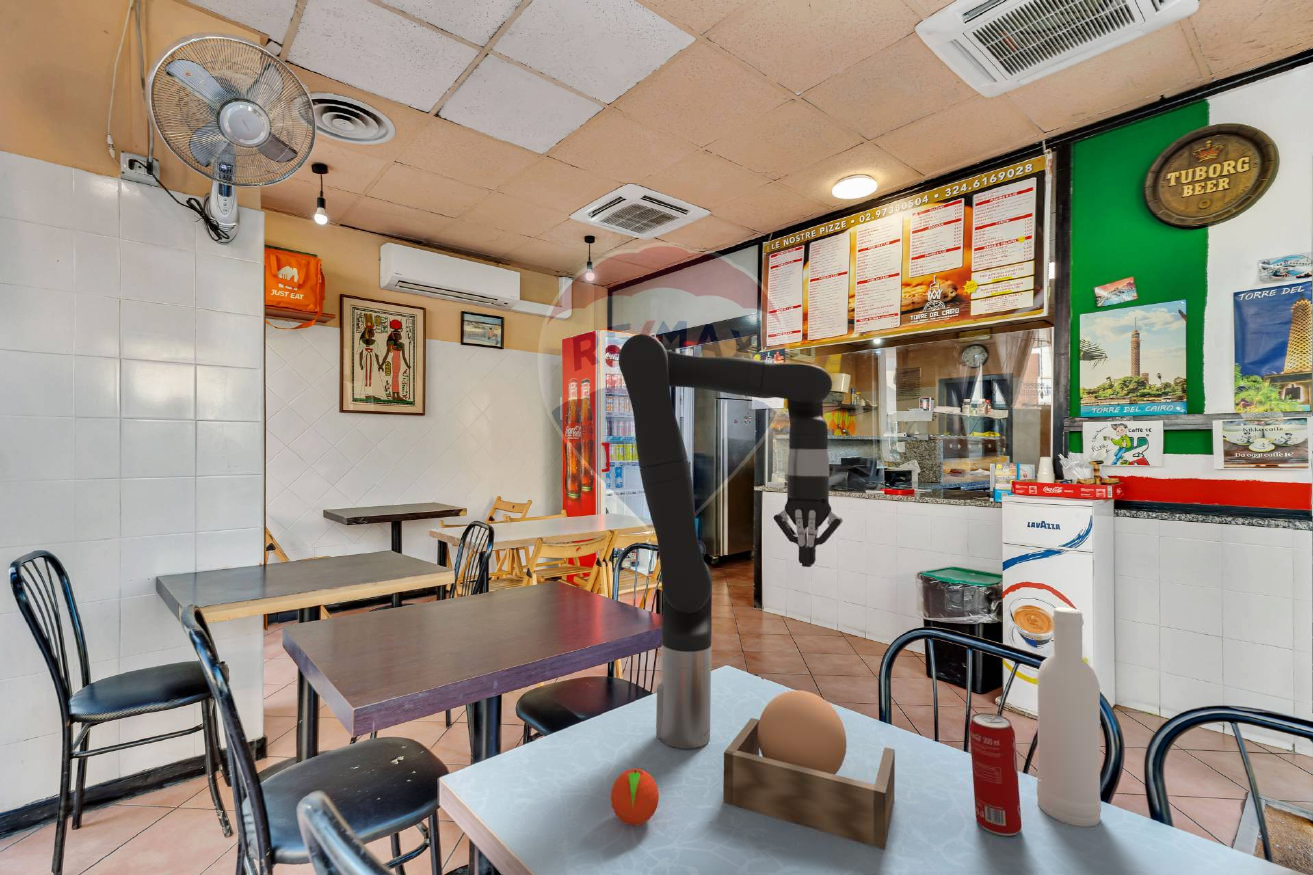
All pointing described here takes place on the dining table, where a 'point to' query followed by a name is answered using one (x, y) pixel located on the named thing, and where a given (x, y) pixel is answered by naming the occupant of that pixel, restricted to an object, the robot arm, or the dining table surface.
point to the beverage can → (995, 774)
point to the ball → (802, 732)
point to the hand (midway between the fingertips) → (807, 566)
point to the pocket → (809, 792)
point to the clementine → (634, 797)
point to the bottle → (1068, 728)
